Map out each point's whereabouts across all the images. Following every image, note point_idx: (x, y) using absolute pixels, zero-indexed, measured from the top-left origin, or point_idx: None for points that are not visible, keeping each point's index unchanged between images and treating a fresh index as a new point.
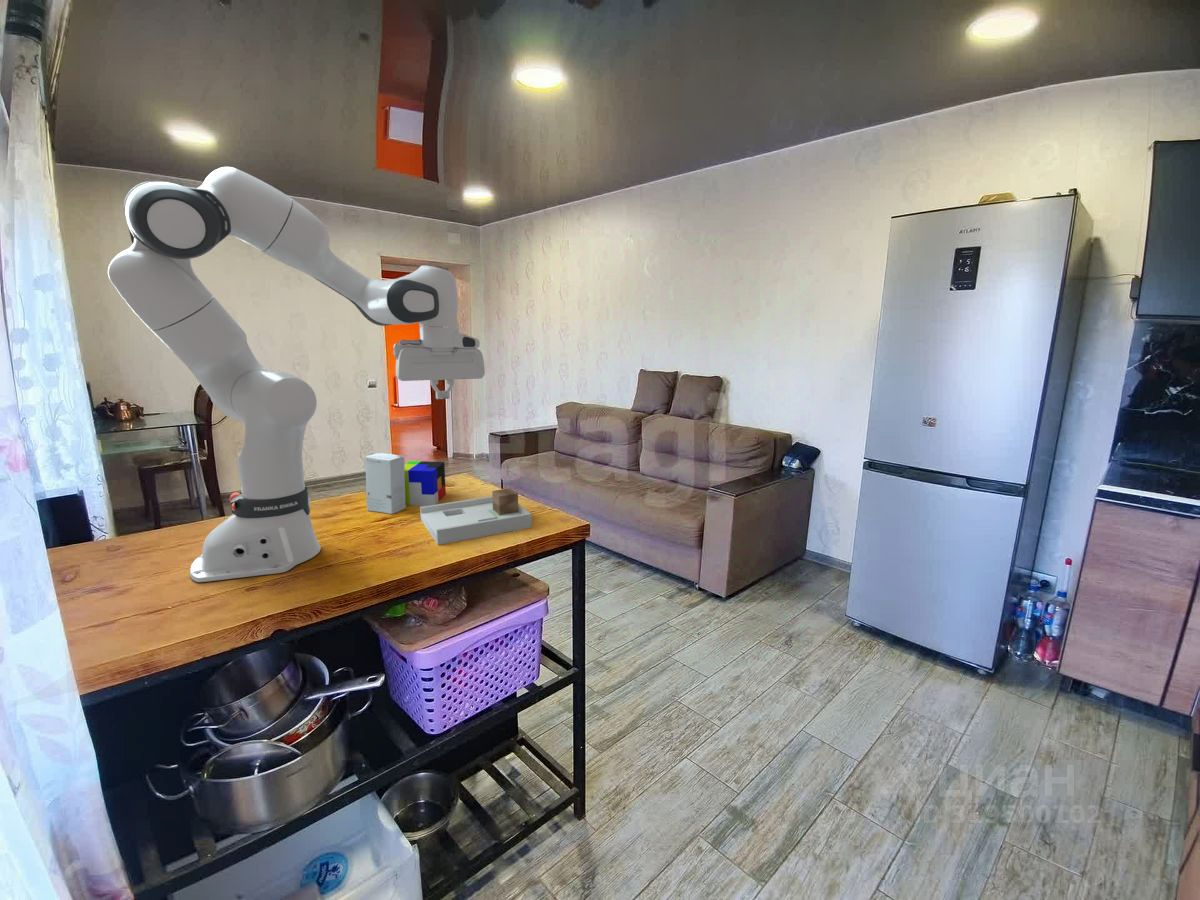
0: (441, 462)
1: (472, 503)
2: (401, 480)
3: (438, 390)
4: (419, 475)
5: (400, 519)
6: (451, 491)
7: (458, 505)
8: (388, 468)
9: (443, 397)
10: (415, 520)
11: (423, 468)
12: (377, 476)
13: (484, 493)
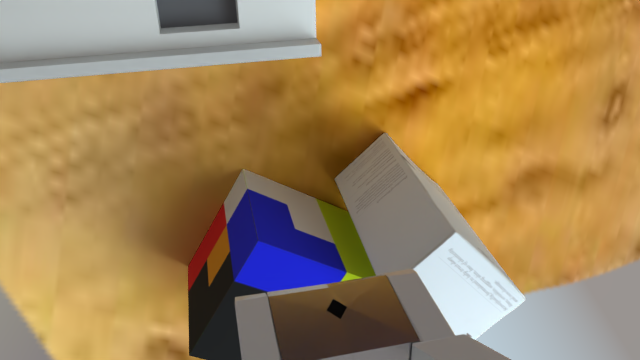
0: (201, 350)
1: (109, 56)
2: (373, 218)
3: (446, 353)
4: (304, 247)
5: (369, 76)
6: (164, 292)
7: (171, 51)
8: (447, 217)
9: (332, 286)
10: (327, 47)
11: (286, 285)
12: (462, 224)
13: (42, 245)
